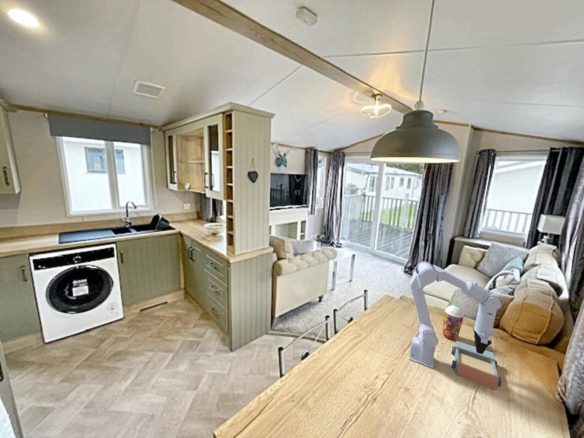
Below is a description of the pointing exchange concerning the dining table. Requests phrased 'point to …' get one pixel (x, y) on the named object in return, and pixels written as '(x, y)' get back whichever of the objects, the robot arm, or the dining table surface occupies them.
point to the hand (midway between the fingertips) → (478, 349)
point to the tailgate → (477, 375)
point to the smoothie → (452, 321)
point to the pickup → (474, 359)
